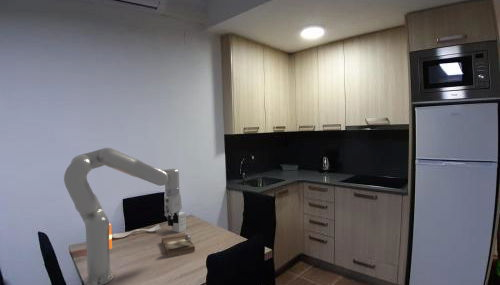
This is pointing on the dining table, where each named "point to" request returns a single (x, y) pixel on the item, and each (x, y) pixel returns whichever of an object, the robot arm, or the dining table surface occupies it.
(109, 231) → the orange juice
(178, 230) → the supplement box
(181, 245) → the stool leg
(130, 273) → the dining table surface
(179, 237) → the wooden tray
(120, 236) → the cream wavy strip
